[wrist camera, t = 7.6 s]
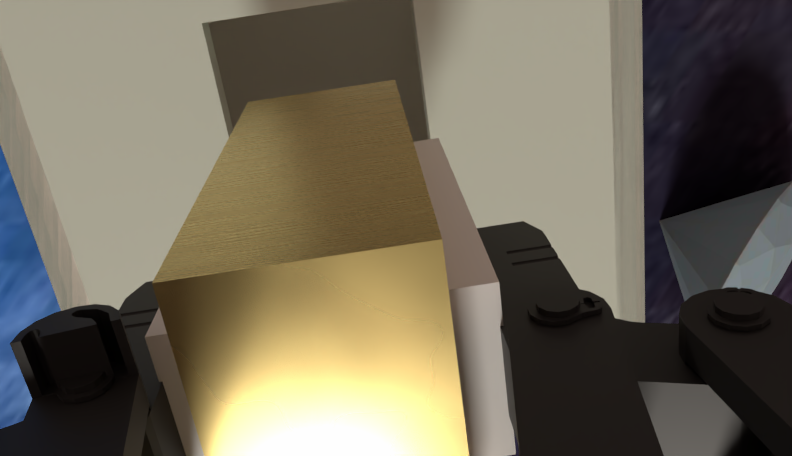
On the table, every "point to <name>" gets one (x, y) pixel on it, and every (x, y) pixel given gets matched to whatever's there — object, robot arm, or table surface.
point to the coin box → (309, 72)
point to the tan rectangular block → (316, 288)
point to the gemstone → (733, 242)
